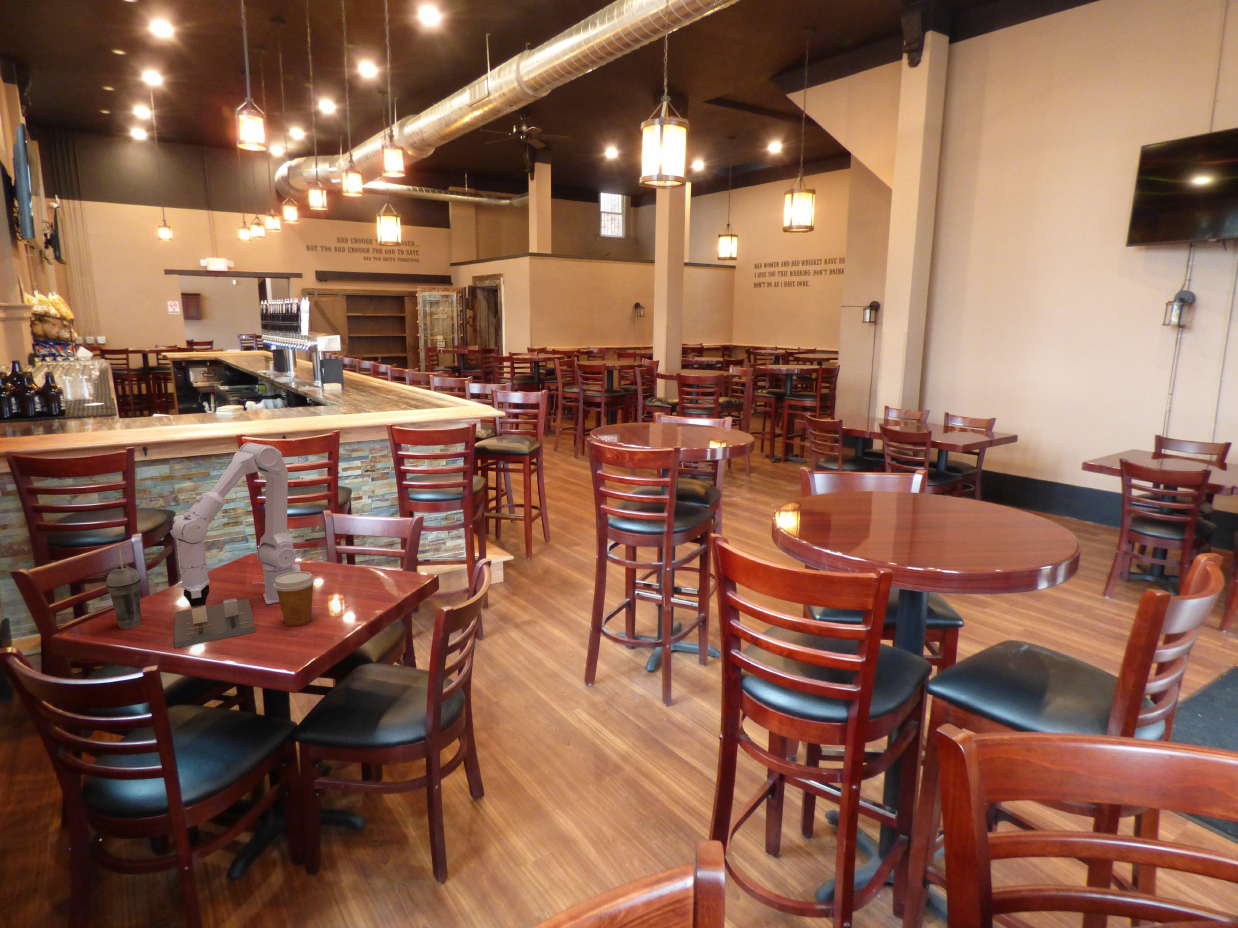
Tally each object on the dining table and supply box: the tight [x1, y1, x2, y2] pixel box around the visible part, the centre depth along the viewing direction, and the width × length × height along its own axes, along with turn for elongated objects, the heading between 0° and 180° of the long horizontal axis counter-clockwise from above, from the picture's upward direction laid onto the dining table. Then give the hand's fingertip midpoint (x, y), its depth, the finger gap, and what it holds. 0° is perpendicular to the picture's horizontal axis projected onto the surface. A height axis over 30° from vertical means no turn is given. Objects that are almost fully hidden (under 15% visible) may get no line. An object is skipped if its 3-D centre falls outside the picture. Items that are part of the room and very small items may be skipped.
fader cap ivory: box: [191, 605, 207, 624], centre depth 177 cm, size 3×2×4 cm, turn 121°
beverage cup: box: [105, 548, 142, 630], centre depth 177 cm, size 7×7×20 cm
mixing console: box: [174, 598, 256, 649], centre depth 179 cm, size 17×21×2 cm
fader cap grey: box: [222, 598, 239, 618], centre depth 181 cm, size 3×2×4 cm, turn 121°
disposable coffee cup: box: [274, 570, 316, 627], centre depth 180 cm, size 10×10×12 cm
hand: (199, 615), depth 179 cm, fingers closed
